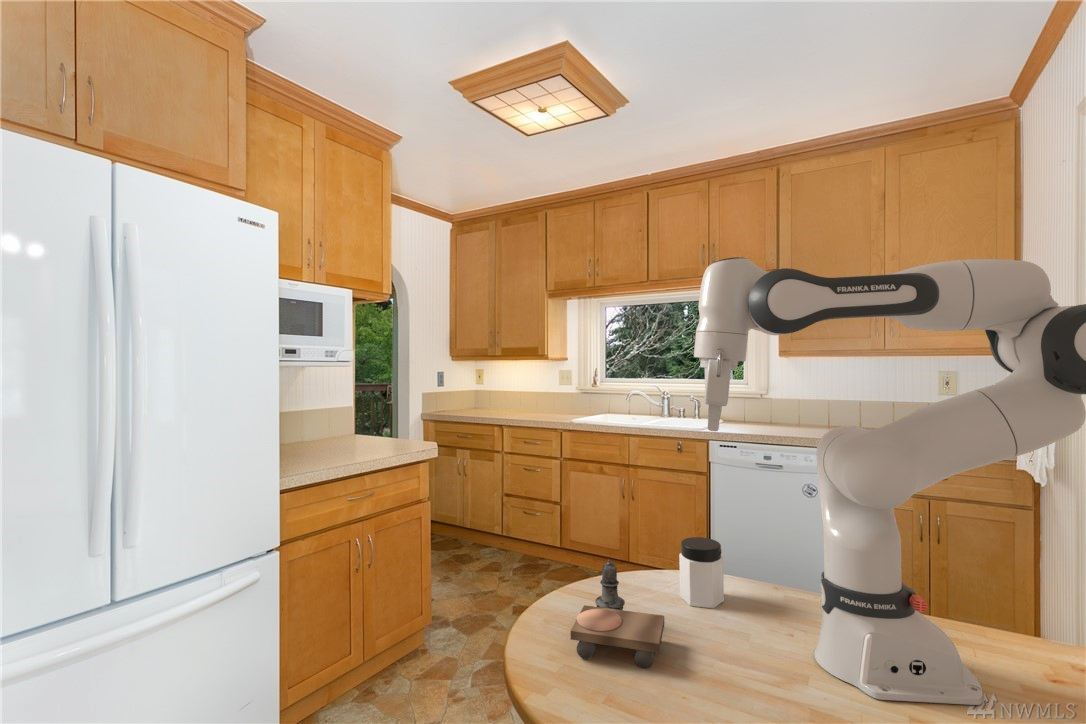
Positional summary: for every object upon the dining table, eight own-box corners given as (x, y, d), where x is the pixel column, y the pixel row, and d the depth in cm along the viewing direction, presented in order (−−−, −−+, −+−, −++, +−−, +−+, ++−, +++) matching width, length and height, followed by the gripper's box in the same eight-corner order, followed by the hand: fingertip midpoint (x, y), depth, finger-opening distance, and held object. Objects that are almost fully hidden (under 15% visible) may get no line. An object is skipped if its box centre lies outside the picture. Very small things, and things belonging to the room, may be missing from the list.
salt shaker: (627, 626, 102) (626, 564, 102) (596, 627, 102) (595, 564, 102) (623, 612, 108) (622, 553, 108) (594, 612, 108) (593, 553, 108)
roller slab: (664, 640, 97) (664, 614, 97) (659, 671, 88) (658, 642, 88) (584, 628, 102) (584, 604, 102) (570, 656, 92) (570, 629, 92)
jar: (730, 606, 110) (730, 548, 110) (694, 611, 108) (694, 552, 108) (708, 588, 119) (707, 534, 119) (674, 592, 117) (673, 538, 117)
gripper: (742, 350, 84) (733, 437, 84) (736, 352, 103) (729, 422, 104) (700, 347, 86) (692, 432, 86) (702, 349, 105) (696, 418, 106)
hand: (712, 427), depth 95 cm, fingers open, 8 cm apart
